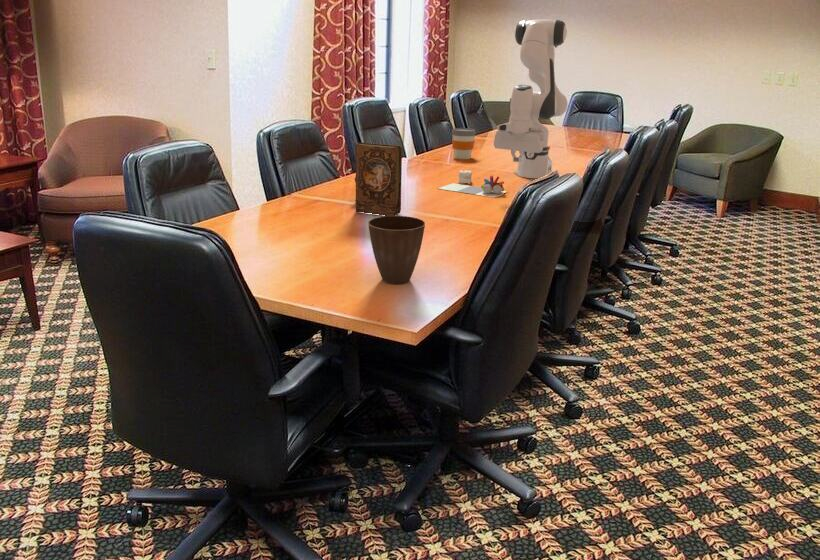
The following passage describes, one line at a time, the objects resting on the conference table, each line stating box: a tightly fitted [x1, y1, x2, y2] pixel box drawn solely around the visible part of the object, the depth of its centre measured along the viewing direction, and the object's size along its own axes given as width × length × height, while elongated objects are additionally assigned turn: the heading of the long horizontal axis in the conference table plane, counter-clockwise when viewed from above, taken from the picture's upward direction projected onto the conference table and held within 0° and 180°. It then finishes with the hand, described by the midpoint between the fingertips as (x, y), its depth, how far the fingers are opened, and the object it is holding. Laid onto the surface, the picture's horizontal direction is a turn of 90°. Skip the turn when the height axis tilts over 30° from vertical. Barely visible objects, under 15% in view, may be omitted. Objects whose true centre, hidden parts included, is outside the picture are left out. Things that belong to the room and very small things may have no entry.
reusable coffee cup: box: [451, 127, 476, 160], centre depth 372 cm, size 13×13×15 cm
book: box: [355, 142, 403, 216], centre depth 251 cm, size 16×6×25 cm, turn 71°
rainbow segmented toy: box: [480, 175, 505, 194], centre depth 291 cm, size 8×10×7 cm
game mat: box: [437, 182, 507, 198], centre depth 297 cm, size 14×27×1 cm, turn 59°
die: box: [458, 170, 473, 185], centre depth 311 cm, size 5×5×5 cm
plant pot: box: [367, 215, 426, 285], centre depth 185 cm, size 15×15×16 cm
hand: (516, 161), depth 282 cm, fingers closed
